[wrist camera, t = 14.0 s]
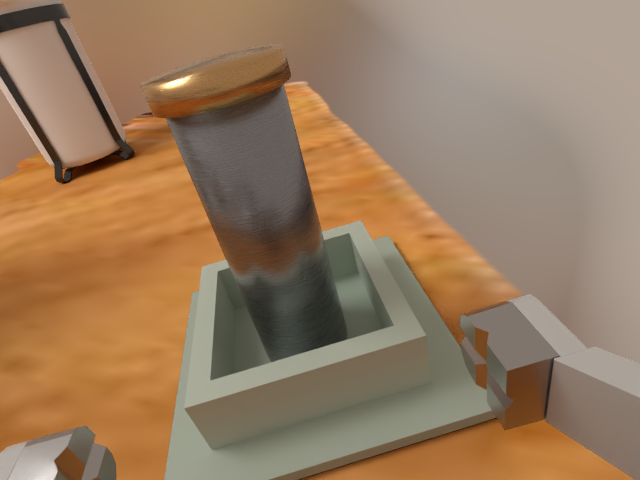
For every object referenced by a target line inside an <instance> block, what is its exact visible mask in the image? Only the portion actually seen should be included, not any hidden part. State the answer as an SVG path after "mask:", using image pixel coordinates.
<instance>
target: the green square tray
mask: <svg viewBox="0 0 640 480" xmlns="http://www.w3.org/2000/svg"><path fill="white" fill-rule="evenodd" d="M322 234H323V238H324V242H325V246H326V249H327V253H328V257H329V261H330V265H331V269H332V273H333V276H334V280H335V284H336V288H337V292H338V296H339V300H340V303H341V307H342V311H343V315H344V319H345V323H346V327H347V339H346V340H344V341H341V342H338V343H334V344H331V345H328V346H324V347H321V348H318V349H314V350H311V351H308V352H304V353H301V354H298V355H294V356H291V357H288V358H284V359H281V360H278V361H274V362H271V361H270V360H269V358H268V356H267V354H266V351H265V349H264V347H263V344H262V342H261V340H260V337H259V335H258V333H257V330H256V328H255V326H254V323H253V321H252V319H251V316H250V314H249V312H248V309H247V307H246V305H245V302H244V300H243V298H242V295H241V293H240V291H239V288H238V286H237V284H236V281H235V279H234V277H233V274H232V272H231V270H230V267H229V265H228V263H227V260H223V261H219V262H216V263H213V264H209V265H206V266H202V272H201V280H200V288H199V291H197V292H194V293H192V298H191V305H190V312H189V318H188V325H187V332H186V339H185V345H184V352H183V359H182V365H181V372H180V379H179V385H178V392H177V399H176V405H175V412H174V419H173V425H172V432H171V439H170V445H169V452H168V459H167V465H166V472H165V479H164V480H298V479H301V478H304V477H307V476H311V475H314V474H317V473H320V472H324V471H327V470H330V469H333V468H336V467H340V466H343V465H346V464H349V463H352V462H356V461H359V460H362V459H365V458H369V457H372V456H375V455H378V454H381V453H385V452H388V451H391V450H394V449H398V448H401V447H404V446H407V445H410V444H414V443H417V442H420V441H423V440H426V439H430V438H433V437H436V436H439V435H443V434H446V433H449V432H452V431H455V430H459V429H462V428H465V427H468V426H472V425H475V424H478V423H481V422H484V421H488V420H491V419H494V418H496V416H495V414H494V413H493V411H492V410H491V408H490V406H489V405H488V403H487V390H485V389H483V388H482V387H480V386H478V385H476V384H475V382H474V380H473V379H472V377H471V375H470V374H469V371H468V369H467V367H466V365H465V362H464V358H463V355H462V349H461V348H460V346H459V344H458V343H457V341H456V340H455V338H454V337H453V335H452V334H451V332H450V331H449V329H448V327H447V326H446V324H445V323H444V321H443V320H442V318H441V317H440V315H439V313H438V312H437V310H436V309H435V307H434V306H433V304H432V303H431V301H430V300H429V298H428V296H427V295H426V293H425V292H424V290H423V289H422V287H421V286H420V284H419V282H418V281H417V279H416V278H415V276H414V275H413V273H412V272H411V270H410V269H409V267H408V265H407V264H406V262H405V261H404V259H403V258H402V256H401V255H400V253H399V251H398V250H397V248H396V247H395V245H394V244H393V242H392V241H391V239H390V238H389V236H385V237H382V238H378V239H375V240H372V239H371V237H370V235H369V234H368V232H367V230H366V228H365V227H364V225H363V223H362V221H357V222H354V223H350V224H347V225H343V226H340V227H336V228H333V229H330V230H326V231H323V232H322Z"/></svg>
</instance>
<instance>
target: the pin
mask: <svg viewBox="0 0 640 480" xmlns="http://www.w3.org/2000/svg"><path fill="white" fill-rule="evenodd" d="M290 77H291V72H290V68H289V64H288V60H287V56H286V52H285V48H284V45H283V44H268V45H262V46H256V47H251V48H245V49H241V50H237V51H232V52H228V53H224V54H220V55H217V56H213V57H210V58H206V59H202V60H199V61H196V62H192V63H190V64H186V65H183V66H180V67H177V68H174V69H172V70H169V71H166V72H163V73H161V74H159V75H156V76H154V77H152V78H150V79H148V80H146V81H144V82H143V83H141V85H140V87H141V89H142V91H143V93H144V95H145V98H146V100H147V102H148V105H149V107H150V109H151V111H152V114H153V115H154V116H155V117H158V118H166V120H167V123H168V125H169V127H170V130H171V132H172V134H173V137H174V139H175V141H176V144H177V146H178V148H179V151H180V153H181V155H182V158H183V160H184V162H185V165H186V167H187V169H188V172H189V174H190V176H191V179H192V181H193V183H194V186H195V188H196V190H197V193H198V195H199V197H200V200H201V202H202V204H203V207H204V209H205V211H206V214H207V216H208V218H209V221H210V223H211V225H212V228H213V230H214V232H215V235H216V237H217V239H218V242H219V244H220V246H221V249H222V251H223V253H224V256H225V258H226V260H227V263H228V265H229V267H230V270H231V272H232V274H233V277H234V279H235V281H236V284H237V286H238V288H239V291H240V293H241V295H242V298H243V300H244V302H245V305H246V307H247V309H248V312H249V314H250V316H251V319H252V321H253V323H254V326H255V328H256V330H257V333H258V335H259V337H260V340H261V342H262V344H263V347H264V349H265V351H266V354H267V356H268V358H269V360H270V361H271V362H274V361H278V360H281V359H284V358H288V357H291V356H294V355H298V354H301V353H304V352H308V351H311V350H314V349H318V348H321V347H324V346H328V345H331V344H334V343H338V342H341V341H344V340H346V339H347V327H346V323H345V319H344V315H343V311H342V307H341V303H340V300H339V296H338V292H337V288H336V284H335V280H334V276H333V273H332V269H331V265H330V261H329V257H328V253H327V249H326V246H325V242H324V238H323V234H322V230H321V226H320V222H319V219H318V215H317V211H316V207H315V203H314V199H313V195H312V191H311V188H310V184H309V180H308V176H307V172H306V168H305V164H304V161H303V157H302V153H301V149H300V145H299V141H298V137H297V134H296V130H295V126H294V122H293V118H292V114H291V110H290V107H289V103H288V99H287V95H286V91H285V87H284V83H285V82H286V81H287V80H289V79H290Z"/></svg>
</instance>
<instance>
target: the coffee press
mask: <svg viewBox="0 0 640 480" xmlns="http://www.w3.org/2000/svg"><path fill="white" fill-rule="evenodd" d="M69 18H70V16H69V14H68V12H67V10H66V8H65V6H64V4H61V2H60V0H0V88H1V90H2V92H3V93H4V95H5V96H6V98H7V100H8V101H9V103H10V104H11V106H12V108H13V109H14V111H15V112H16V114H17V116H18V117H19V119H20V120H21V122H22V123H23V125H24V127H25V128H26V130H27V131H28V133H29V135H30V136H31V138H32V139H33V141H34V142H35V144H36V145H37V147H38V149H39V150H40V152H41V153H42V155H43V157H44V158H45V160H46V161H47V162H48V164H50V165H51V166H53V167H54V168H55V179H56V181H57V182H59V183H64V182H69V181H70V180H71V178H72V171H73V169H74V168H76V167H77V166H80V165H83V164H87V163H90V162H93V161H95V160H98V159H100V158H103V157H105V156H107V155H112V154H116V155H118V156H120V157H122V158H123V159H126V160H127V159H129V158H131V157H132V156H134V154H135V152H134V150H133V149H132V148H131V147H130V146H128V145H127V144H126V134H125V131H124V129H123V127H122V125H121V123H120V121H119V119H118V117H117V115H116V113H115V111H114V109H113V107H112V105H111V103H110V101H109V99H108V97H107V95H106V93H105V90H104V89H103V86H102V84H101V82H100V80H99V78H98V76H97V74H96V72H95V70H94V68H93V66H92V64H91V62H90V60H89V58H88V56H87V54H86V52H85V50H84V48H83V46H82V44H81V42H80V40H79V38H78V36H77V34H76V32H75V30H74V28H73V26H72V24H71V22H70V20H69ZM120 147H121V148H122V149H123V150H124V151H126V152H127V153H128V154H127V153H126V152H124V151H121V150H118V149H119V148H120ZM63 168H67V169H66V171H65V174H64V179H63V175H62V169H63Z"/></svg>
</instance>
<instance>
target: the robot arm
mask: <svg viewBox="0 0 640 480" xmlns="http://www.w3.org/2000/svg"><path fill="white" fill-rule="evenodd" d="M460 328H461V330H462V331H463V333H464V334H465V337H464V338H463V340H462V341H461V349H462V355H463V358H464V362H465V365H466V367H467V369H468V371H469V374H470V375H471V377H472V379H473V380H474V382H475V384H476V385H478V386H480V387H482V388H483V389H485V390H487V403H488V405H489V406H490V408H491V410H492V411H493V413H494V414H495V416H496V418H497V419H498V421H499V422H500V424H501V425H502V427H503V429H504V430H508V429H512V428H515V427H519V426H523V425H526V424H530V423H534V422H538V421H541V420H545V419H546V422H547V423H549V424H550V425H552V426H553V427H555V428H556V429H558V430H559V431H561V432H562V433H564V434H566V435H567V436H569V437H570V438H572V439H573V440H575V441H576V442H578V443H579V444H581V445H583V446H584V447H586V448H587V449H589V450H590V451H592V452H593V453H595V454H596V455H598V456H600V457H601V458H603V459H604V460H606V461H607V462H609V463H610V464H612V465H613V466H615V467H616V468H618V469H620V470H621V471H623V472H624V473H626V474H627V475H629V476H630V477H632V478H633V479H635V480H640V363H638V362H635V361H632V360H630V359H627V358H624V357H622V356H619V355H617V354H614V353H611V352H609V351H606V350H604V349H601V348H599V347H596V346H595V347H591V348H587V347H586V346H585V345H584V344H583V343H582V342H581V341H580V340H579V339H578V338H577V337H576V336H575V335H574V334H573V333H572V332H571V331H570V330H569V329H568V328H567V327H566V326H565V325H564V324H563V323H562V322H561V321H560V320H559V319H558V318H557V317H556V316H555V315H553V313H552V312H551V311H550V310H548V309H547V308H546V307H545V306H544V305H543V304H542V303H541V302H540V301H539V300H538V299H537V298H536V297H535V296H533V295H531V294H528V295H524V296H521V297H518V298H514V299H511V300H508V301H506V302H500V303H497V304H494V305H491V306H487V307H484V308H481V309H477V310H474V311H471V312H468V313H464V314H462V315H461V318H460ZM94 439H95V434H94V433H93V432H92V431H91V430H90V429H89V428H88V427H87V426H83V427H77V428H74V429H70V430H66V431H62V432H59V433H55V434H51V435H47V436H44V437H40V438H36V439H32V440H30V441H26V442H22V443H19V444H15V445H11V446H8V447H7V448H6V449H4V450H3V451H2V452H1V453H0V480H116V463H115V460H114V458H113V455H112V453H111V452H110V451H109V450H108V448H107V447H105V446H102V445H99V444H96V443H94Z"/></svg>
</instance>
